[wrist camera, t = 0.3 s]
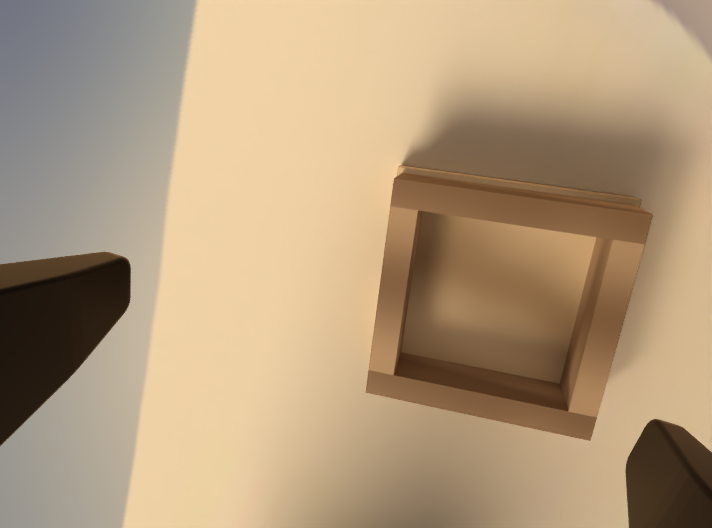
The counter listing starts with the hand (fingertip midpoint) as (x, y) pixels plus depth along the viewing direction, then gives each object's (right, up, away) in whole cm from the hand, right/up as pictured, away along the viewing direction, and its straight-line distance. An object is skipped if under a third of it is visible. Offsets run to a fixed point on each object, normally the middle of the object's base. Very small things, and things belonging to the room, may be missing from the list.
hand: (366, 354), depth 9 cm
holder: (+6, +1, +13) cm, 14 cm away
